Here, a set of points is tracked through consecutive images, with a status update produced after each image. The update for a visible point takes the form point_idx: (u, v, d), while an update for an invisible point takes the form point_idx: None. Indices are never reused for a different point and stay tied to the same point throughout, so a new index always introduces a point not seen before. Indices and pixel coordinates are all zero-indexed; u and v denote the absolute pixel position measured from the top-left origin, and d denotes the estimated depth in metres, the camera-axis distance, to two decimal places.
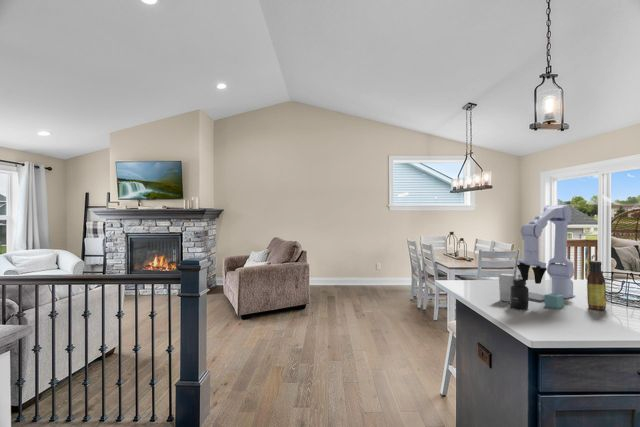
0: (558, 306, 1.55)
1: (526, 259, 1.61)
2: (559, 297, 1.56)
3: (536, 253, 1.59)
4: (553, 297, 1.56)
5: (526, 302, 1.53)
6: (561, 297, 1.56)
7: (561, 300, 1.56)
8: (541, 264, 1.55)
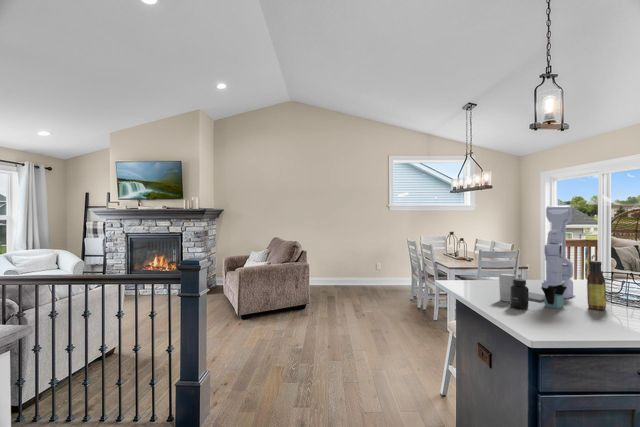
0: (558, 306, 1.55)
1: None
2: (559, 297, 1.56)
3: (550, 273, 1.57)
4: None
5: (526, 302, 1.53)
6: (561, 297, 1.56)
7: (561, 300, 1.56)
8: None
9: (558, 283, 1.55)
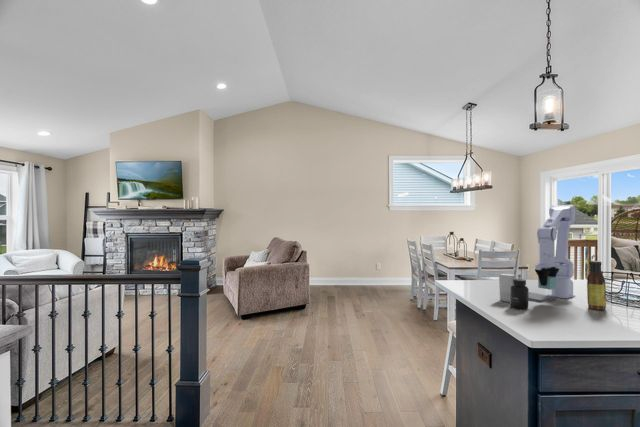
0: (551, 287, 1.60)
1: None
2: (552, 278, 1.61)
3: (543, 256, 1.62)
4: None
5: (526, 302, 1.53)
6: (554, 278, 1.62)
7: (554, 281, 1.62)
8: None
9: (551, 265, 1.60)
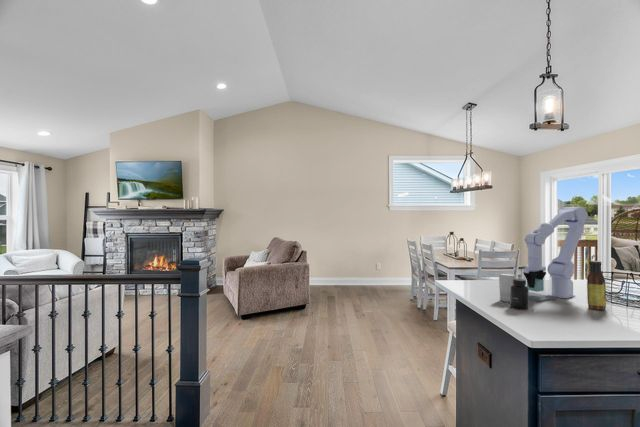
0: (538, 289, 1.70)
1: None
2: (539, 281, 1.71)
3: (531, 259, 1.72)
4: None
5: (526, 302, 1.53)
6: (541, 281, 1.71)
7: (541, 284, 1.71)
8: None
9: (538, 268, 1.70)
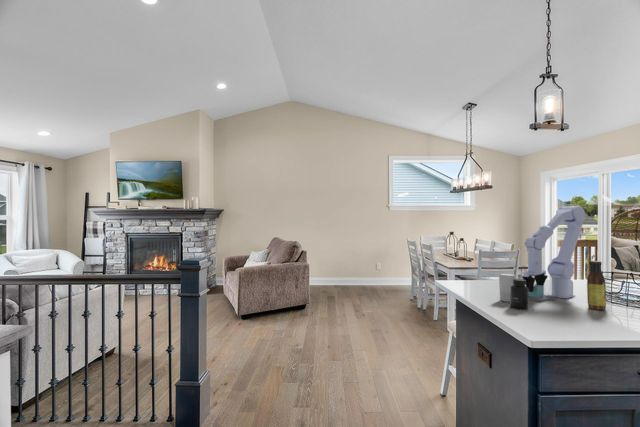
0: (539, 295, 1.70)
1: None
2: (539, 287, 1.71)
3: (531, 263, 1.72)
4: (534, 287, 1.71)
5: (526, 302, 1.53)
6: (541, 287, 1.71)
7: (541, 290, 1.71)
8: None
9: (538, 272, 1.70)
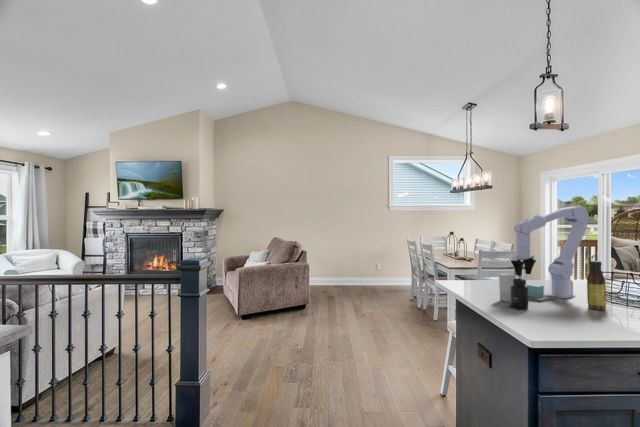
0: (539, 295, 1.70)
1: None
2: (539, 287, 1.71)
3: (519, 248, 1.76)
4: (534, 287, 1.71)
5: (526, 302, 1.53)
6: (541, 287, 1.71)
7: (541, 290, 1.71)
8: None
9: (527, 256, 1.74)
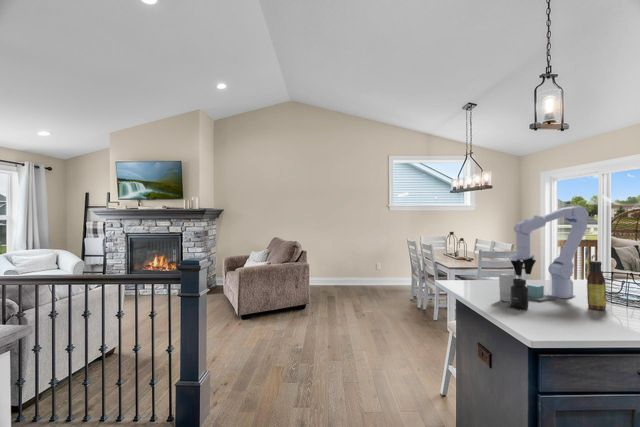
0: (539, 295, 1.70)
1: None
2: (539, 287, 1.71)
3: (519, 248, 1.76)
4: (534, 287, 1.71)
5: (526, 302, 1.53)
6: (541, 287, 1.71)
7: (541, 290, 1.71)
8: None
9: (526, 256, 1.74)
